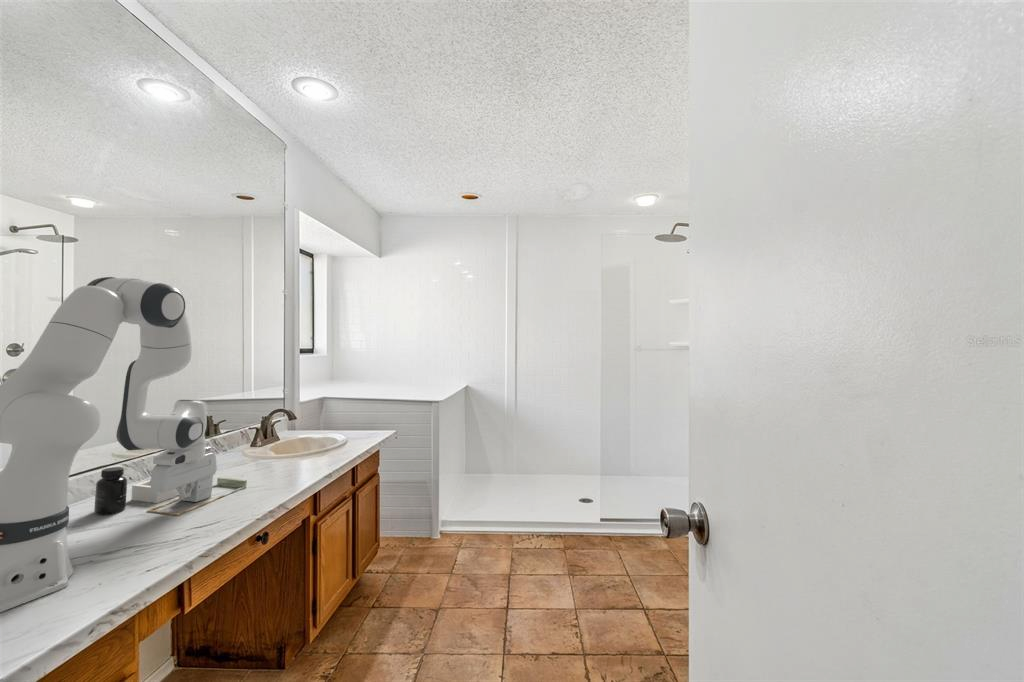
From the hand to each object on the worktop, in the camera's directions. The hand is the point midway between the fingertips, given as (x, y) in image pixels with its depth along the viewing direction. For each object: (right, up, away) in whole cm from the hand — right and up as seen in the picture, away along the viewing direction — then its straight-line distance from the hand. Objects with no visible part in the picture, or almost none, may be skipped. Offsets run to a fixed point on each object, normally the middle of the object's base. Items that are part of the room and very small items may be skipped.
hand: (184, 498), depth 139 cm
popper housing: (-12, -1, +5) cm, 14 cm away
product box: (0, -2, +5) cm, 6 cm away
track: (+1, -2, +5) cm, 6 cm away
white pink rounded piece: (-12, -1, +5) cm, 14 cm away
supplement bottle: (-16, -1, -7) cm, 18 cm away
